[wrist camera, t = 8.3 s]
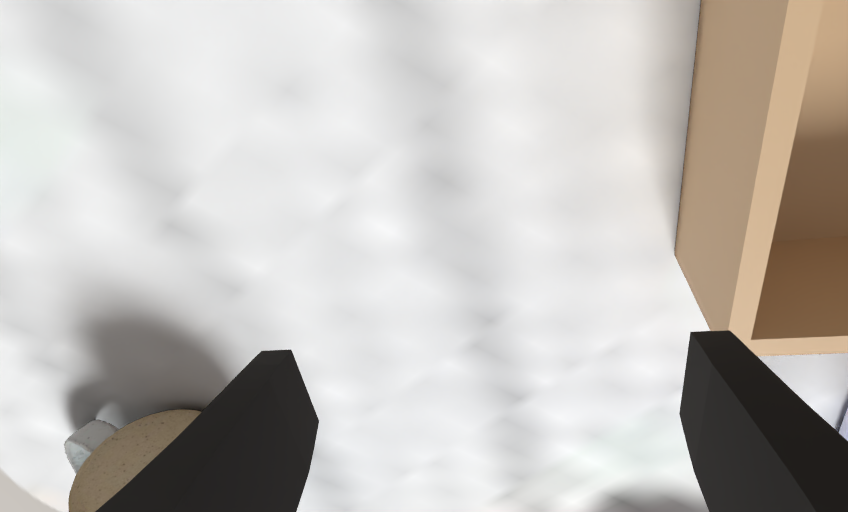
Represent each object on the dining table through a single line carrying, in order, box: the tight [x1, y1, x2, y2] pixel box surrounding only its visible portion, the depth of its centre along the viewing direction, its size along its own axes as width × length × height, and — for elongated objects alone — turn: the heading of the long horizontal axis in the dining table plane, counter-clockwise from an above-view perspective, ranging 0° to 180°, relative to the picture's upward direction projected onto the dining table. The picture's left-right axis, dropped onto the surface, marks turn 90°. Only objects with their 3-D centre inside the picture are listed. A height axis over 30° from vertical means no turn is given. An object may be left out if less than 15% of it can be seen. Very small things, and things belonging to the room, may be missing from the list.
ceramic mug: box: [64, 409, 202, 512], centre depth 26 cm, size 11×8×8 cm
